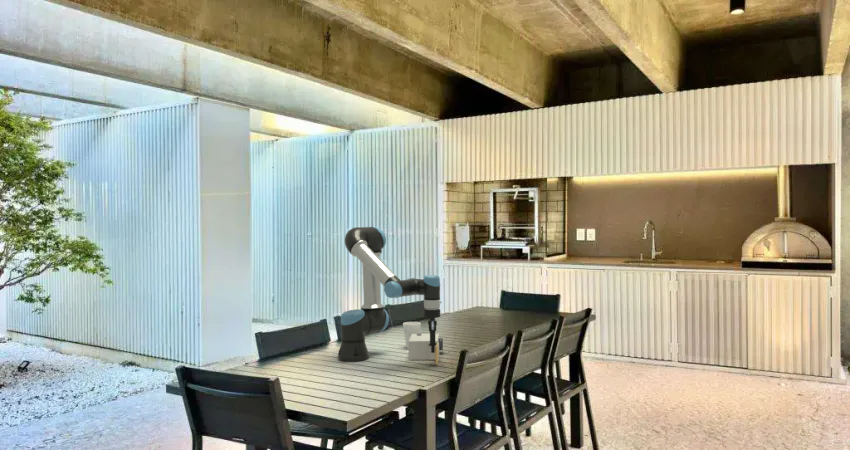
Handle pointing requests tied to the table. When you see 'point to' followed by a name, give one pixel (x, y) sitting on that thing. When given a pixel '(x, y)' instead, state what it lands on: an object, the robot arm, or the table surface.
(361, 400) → the table surface
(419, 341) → the housing
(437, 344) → the door
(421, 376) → the table surface
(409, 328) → the foam cup
